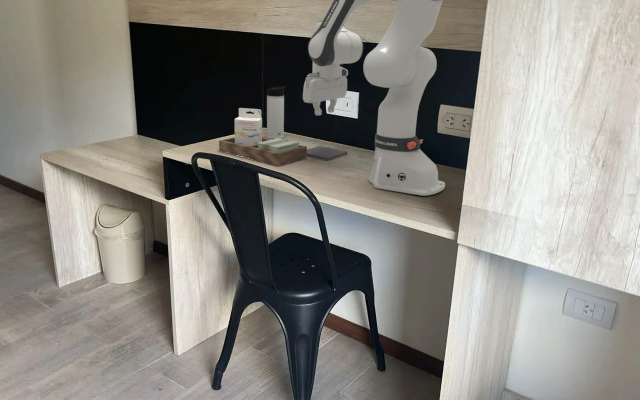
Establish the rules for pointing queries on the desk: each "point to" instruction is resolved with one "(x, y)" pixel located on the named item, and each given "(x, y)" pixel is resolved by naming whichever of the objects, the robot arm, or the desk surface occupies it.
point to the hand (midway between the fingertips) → (324, 113)
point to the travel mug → (275, 112)
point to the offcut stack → (278, 145)
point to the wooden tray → (263, 152)
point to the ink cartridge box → (248, 127)
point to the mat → (325, 153)
